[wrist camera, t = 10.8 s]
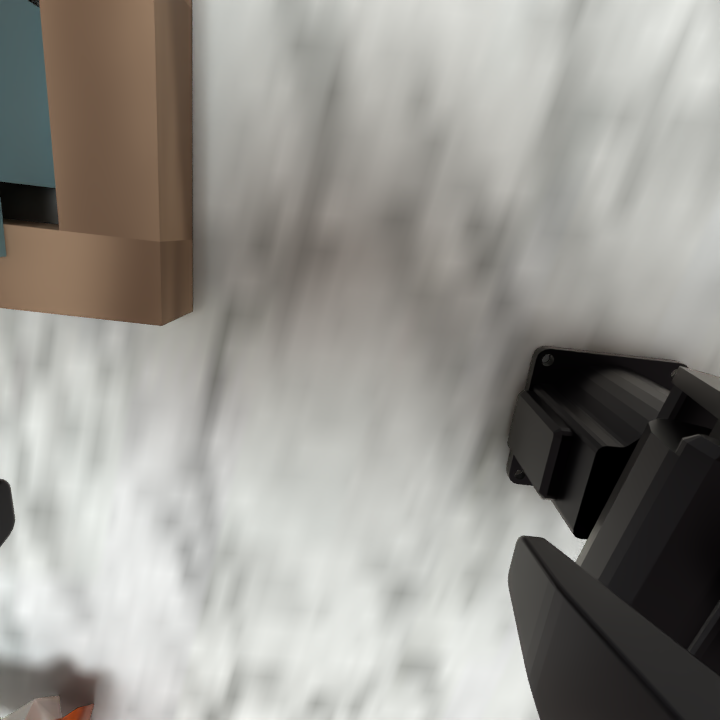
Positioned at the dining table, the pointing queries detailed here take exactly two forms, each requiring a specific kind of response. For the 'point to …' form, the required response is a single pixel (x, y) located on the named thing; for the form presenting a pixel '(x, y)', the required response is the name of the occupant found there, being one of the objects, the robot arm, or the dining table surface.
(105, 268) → the brown square frame
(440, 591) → the dining table surface
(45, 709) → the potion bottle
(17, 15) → the block
